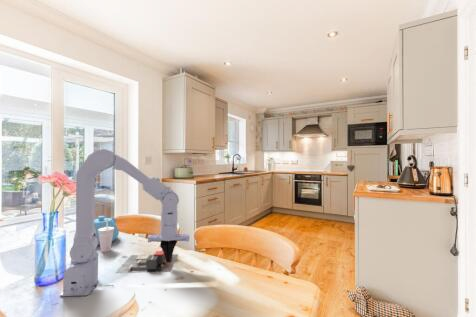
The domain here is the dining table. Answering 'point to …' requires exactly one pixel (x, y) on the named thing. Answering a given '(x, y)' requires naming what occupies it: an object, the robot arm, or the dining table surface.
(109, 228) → the smoothie
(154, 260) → the breaker plain
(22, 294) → the dining table surface
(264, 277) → the dining table surface
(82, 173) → the robot arm
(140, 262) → the breaker panel
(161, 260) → the breaker tagged
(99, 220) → the teapot
